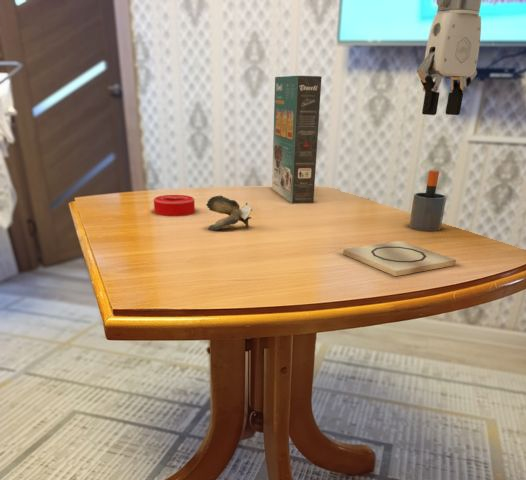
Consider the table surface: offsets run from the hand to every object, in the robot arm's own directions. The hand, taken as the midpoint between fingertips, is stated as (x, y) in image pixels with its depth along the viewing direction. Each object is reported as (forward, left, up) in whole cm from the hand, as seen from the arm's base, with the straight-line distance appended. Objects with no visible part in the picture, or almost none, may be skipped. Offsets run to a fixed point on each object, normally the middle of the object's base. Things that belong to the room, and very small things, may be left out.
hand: (440, 113), depth 102 cm
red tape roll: (+43, -39, -23) cm, 63 cm away
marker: (-2, -1, -23) cm, 23 cm away
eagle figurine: (+38, -19, -23) cm, 48 cm away
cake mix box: (+5, -46, -23) cm, 52 cm away
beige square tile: (+21, +15, -23) cm, 34 cm away
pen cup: (-2, -1, -23) cm, 23 cm away
